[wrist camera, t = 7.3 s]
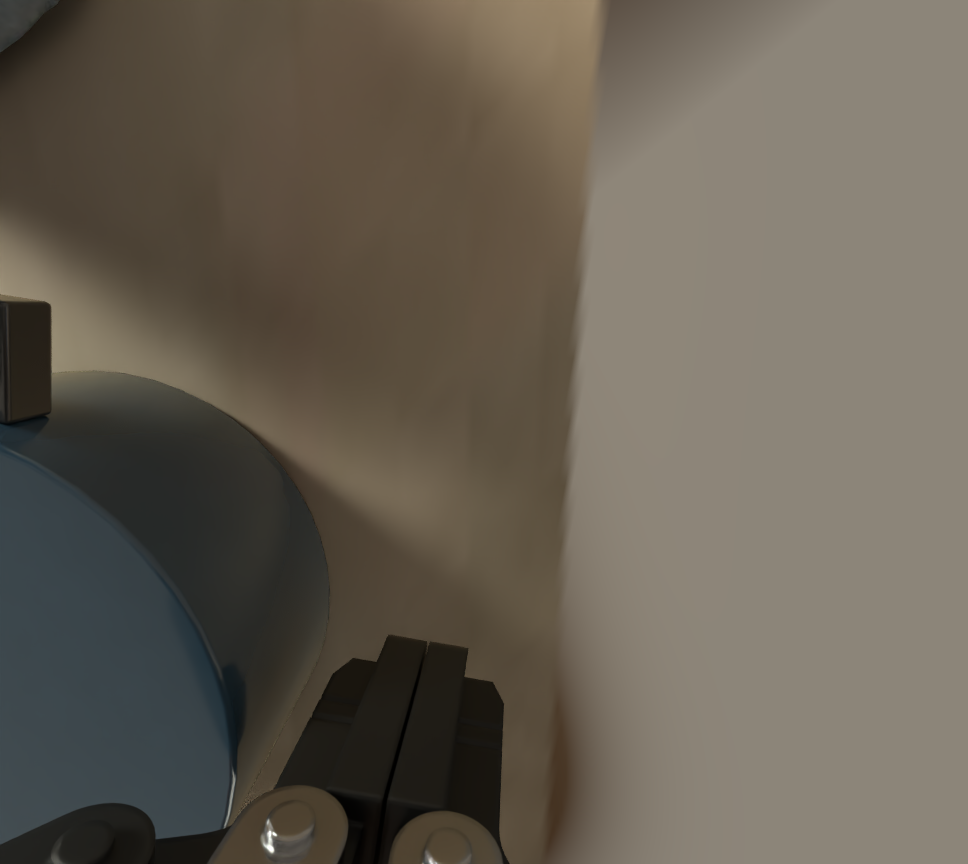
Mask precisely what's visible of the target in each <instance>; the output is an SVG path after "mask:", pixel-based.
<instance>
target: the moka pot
mask: <svg viewBox="0 0 968 864" xmlns="http://www.w3.org/2000/svg"><path fill="white" fill-rule="evenodd" d="M58 2H59V0H0V52H2V51H3V50H5V49H6V48H7V47H9V46H10V45H12V44H13V43H14V42H16V41H17V40H19V39H20V38H21V37H22V36H23V35H24V34H25V33H26V32H27V31H28V30H29V29H30V28H31V27H32V26H33V25H34V24H35V23H36V22H37V21H38V20H39V18H40V17H41V16H42V15H43V14H44V13H45V12H47V11H48V10H50V9H51V8H53V7H54V6H56V5H57V4H58Z"/></svg>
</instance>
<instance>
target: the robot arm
mask: <svg viewBox="0 0 968 864" xmlns="http://www.w3.org/2000/svg"><path fill="white" fill-rule="evenodd" d="M426 652H427V654H426ZM467 655H468V648H466V647H460V646H454V645H448V644H442V643H437V642H431V641H430V643H429V646H428V650H427V641H424V640H418V639H412V638H406V637H401V636H395V635H388V636H387V638H386V641H385V643H384V646H383V648H382V651H381V653H380V655H379V658H378V660H377V662H373V661H368V660H362V659H356V658H353V659H352V660H350V661H349V662H348V663H346V664H345V665H344V666H342V667H341V668H340V669H339V670H337V671H336V672H335V673H333V675H332V676H331V678H330V680H329V682H328V684H327V686H326V688H325V690H324V692H323V694H322V698H321V699H320V700H319V702H318V704H317V706H316V708H315V710H314V712H313V715H312V718H311V717H310V719H309V721H308V723H307V725H306V727H305V729H304V731H303V733H302V735H301V737H300V739H299V741H298V743H297V745H296V747H295V749H294V751H293V753H292V755H291V757H290V758H289V760H288V762H287V764H286V766H285V768H284V770H283V772H282V774H281V776H280V778H279V780H278V782H277V784H276V786H275V788H274V789H273V790H271V791H269V792H267V793H265V794H263V795H261V796H259V797H258V798H256V799H255V800H253V801H252V802H251V803H249V804H248V805H247V806H246V807H245V808H244V809H243V810H242V812H241V813H240V814H239V815H238V817H237V818H236V820H235V821H234V823H233V824H232V825H231V826H228V827H226V828H223V829H220V830H216V831H213V832H208V833H203V834H195V835H187V836H179V837H171V838H162V839H156V834H155V827H154V825H153V822H152V820H151V819H150V818H149V816H148V815H147V814H146V813H145V812H143V811H142V810H141V809H139V808H136V807H134V806H131V805H127V804H122V803H103V804H97V805H91V806H87V807H84V808H80V809H77V810H75V811H72V812H70V813H67V814H65V815H63V816H61V817H59V818H56V819H54V820H52V821H50V822H48V823H46V824H44V825H41V826H39V827H37V828H35V829H33V830H31V831H28V832H26V833H24V834H22V835H20V836H18V837H16V838H13V839H11V840H9V841H7V842H5V843H3V844H1V845H0V864H509V862H508V860H507V858H506V856H505V854H504V851H503V849H502V846H501V841H500V836H499V818H500V792H501V765H502V739H503V731H502V730H503V712H504V703H503V701H502V699H501V697H500V695H499V693H498V691H497V689H496V687H495V685H494V683H493V682H490V681H484V680H478V679H473V678H467V677H464V675H465V669H466V662H467Z"/></svg>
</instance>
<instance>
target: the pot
mask: <svg viewBox="0 0 968 864" xmlns="http://www.w3.org/2000/svg"><path fill="white" fill-rule="evenodd" d="M329 597H330V589H329V579H328V570H327V563H326V559H325V555H324V551H323V547H322V543H321V539H320V536H319V533H318V531H317V528H316V526H315V523H314V520H313V518H312V515H311V513H310V511H309V509H308V507H307V505H306V503H305V502H304V500H303V498H302V496H301V494H300V492H299V491H298V489H297V487H296V486H295V484H294V483H293V481H292V480H291V479H290V477H289V476H288V474H287V473H286V472H285V470H284V469H283V467H282V466H281V465H280V463H279V462H278V461H277V460H276V459H275V458H274V457H273V456H272V455H271V454H270V452H269V451H268V450H267V449H266V448H265V447H264V446H263V445H262V444H261V443H260V442H259V441H258V440H257V439H256V438H255V437H254V436H252V435H251V434H250V433H249V432H248V431H246V430H245V429H244V428H243V427H242V426H241V425H239V424H238V423H237V422H236V421H234V420H233V419H231V418H230V417H228V416H227V415H225V414H224V413H222V412H221V411H219V410H218V409H216V408H215V407H213V406H212V405H210V404H208V403H206V402H204V401H202V400H200V399H198V398H196V397H194V396H192V395H190V394H188V393H186V392H184V391H182V390H180V389H177V388H174V387H171V386H169V385H166V384H163V383H160V382H158V381H155V380H151V379H147V378H142V377H138V376H133V375H129V374H125V373H115V372H105V371H68V372H59V373H52V317H51V305H50V304H49V303H47V302H45V301H39V300H33V299H27V298H21V297H14V296H8V295H2V294H0V845H1V844H3V843H5V842H7V841H9V840H11V839H13V838H16V837H18V836H20V835H22V834H24V833H26V832H28V831H31V830H33V829H35V828H37V827H39V826H41V825H44V824H46V823H48V822H50V821H52V820H54V819H56V818H59V817H61V816H63V815H65V814H67V813H70V812H72V811H75V810H77V809H80V808H84V807H87V806H91V805H97V804H103V803H122V804H127V805H131V806H134V807H136V808H139V809H141V810H142V811H143V812H145V813H146V814H147V815H148V816H149V818H150V819H151V820H152V822H153V825H154V827H155V834H156V839H162V838H171V837H179V836H187V835H195V834H203V833H208V832H213V831H216V830H220V829H223V828H226V827H228V826H231V825H232V824H233V823H234V821H235V819H236V817H237V815H238V813H239V811H240V809H241V807H242V805H243V803H244V802H245V800H246V798H247V796H248V794H249V792H250V790H251V788H252V786H253V784H254V782H255V781H256V779H257V777H258V775H259V773H260V771H261V769H262V767H263V765H264V763H265V761H266V760H267V758H268V756H269V754H270V752H271V750H272V748H273V746H274V744H275V742H276V740H277V739H278V737H279V735H280V733H281V731H282V729H283V727H284V725H285V723H286V721H287V719H288V718H289V716H290V714H291V712H292V710H293V708H294V706H295V704H296V702H297V700H298V698H299V697H300V695H301V693H302V691H303V689H304V687H305V685H306V683H307V681H308V679H309V677H310V675H311V674H312V672H313V670H314V668H315V666H316V664H317V661H318V658H319V655H320V652H321V649H322V646H323V643H324V640H325V635H326V629H327V624H328V618H329Z"/></svg>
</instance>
